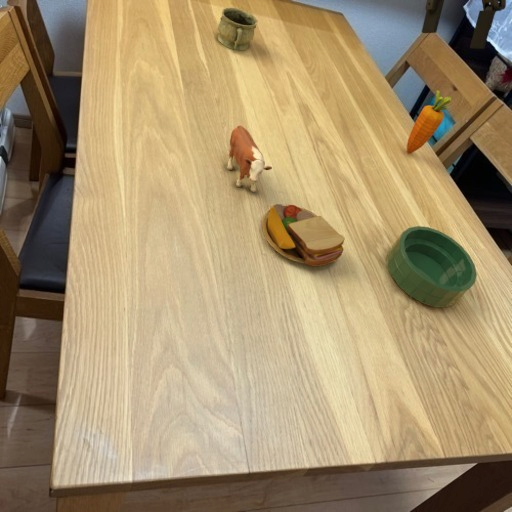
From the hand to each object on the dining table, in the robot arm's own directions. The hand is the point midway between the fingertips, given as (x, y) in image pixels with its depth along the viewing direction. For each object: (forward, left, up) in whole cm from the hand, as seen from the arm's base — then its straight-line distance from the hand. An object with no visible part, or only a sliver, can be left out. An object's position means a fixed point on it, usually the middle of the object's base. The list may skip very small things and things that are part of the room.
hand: (453, 40), depth 90 cm
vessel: (+40, -23, -25) cm, 53 cm away
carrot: (-5, -1, -25) cm, 26 cm away
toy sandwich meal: (+17, +37, -25) cm, 48 cm away
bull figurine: (+29, +27, -25) cm, 47 cm away
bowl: (-5, +36, -25) cm, 44 cm away
